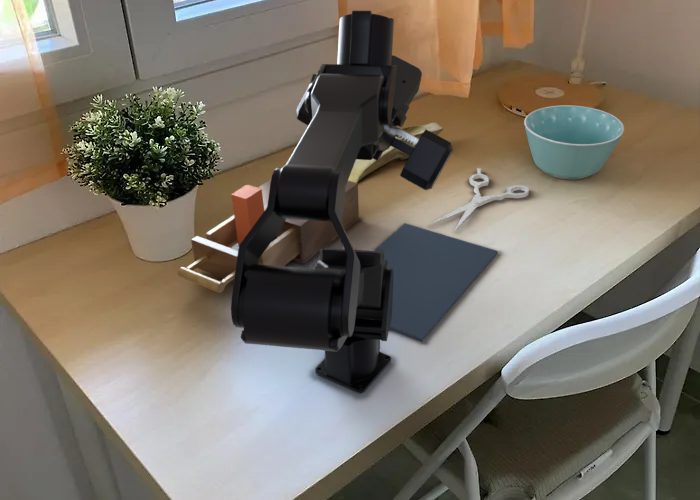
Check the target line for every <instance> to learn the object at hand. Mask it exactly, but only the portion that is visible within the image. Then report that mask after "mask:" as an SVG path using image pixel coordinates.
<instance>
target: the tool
mask: <svg viewBox="0 0 700 500" xmlns="http://www.w3.org/2000/svg"><path fill="white" fill-rule="evenodd" d="M400 129H401V130H403V131H405V132H407V133H409V134H411V135H413V136H414V137H416V138H418V139H420V137H421V135H422V134H423V132H424V131H425V130H428V131H430V132H432V133H434V134H436V135H438V136H439V134H440V133H442V132H443V131H444V127H443V126H441V125H440V124H439V123H438V122H436V121H435V122H430V123H427V124H422V125H413V126H407V127H402V128H400ZM395 138H397V139H398V140H400V141H402V142H404V143H406V144H408V145H409V146H411V147H413V148H415V146H416V144H415V145H414V146H413V143H412V144H410V141H409V142H408V143H407V140H406V141H404V138H403V139H402V140H401V137H400V138H398V136H396V137H395ZM408 158H409V155H407V154H405V153H403V152H401V151H399V150H397V149H396V148H394V147H392V146H390V147H389V148H388V149H387V150H386V151H384V152H383V153H382V155H381V157H380V159H379V161H377V160H375V159H373V158H372V160H357V159H356V161H355V163H354V166H353V168H352V171H351V174H350V176H349V179H348V181H351V182H355V183H358V182H359V181H361V180H362V179H363V178H364V177H366V176H367V175H369V174H370V173H373V172H374V171H376V170H377V169H379V168H380V167H382V166H384V165H386V164H388V163H389V162H391V161H393V160H395V159H396V160H399V161H400V160H401V161H404V160H408Z"/></svg>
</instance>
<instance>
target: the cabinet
mask: <svg viewBox="0 0 700 500" xmlns="http://www.w3.org/2000/svg"><path fill="white" fill-rule="evenodd" d="M270 183H271V179H269V180H267V181H266V182H264V183H263V184H261V185H260V186H258V187H257V188H260V189H262V195H263V204H264V211H265V210H266V208H267V206H268V198H269V191H270ZM359 205H360V204H359V183H358V182H357V183H355V182H351V181H347V184H346V186H345V201H344V211H343V221H342V225H343V227H344V229H345V231H347V230H348V229H349V228H350V227H351V226H353V225H354V224H355V223H356V222H358V221H359V220H360V211H359V209H360V208H359ZM232 211H233V212H234V210H233V209H232ZM284 224H285V225H288V226H291V227H294V228H297V229H298V239H299V250H300V254H299V255H297V256H296V257H295V258H294V259H292V260H291V261H295V262H297V263H300V264H302V265H305V264H306V263H308V261H310V260H311V259H312V258H313V257H314V256H316V255H317V254H318V253H320V250H321V249H325V248H326V247H327V246H328V245H329V244H330V243H332V242H333V241H335V239H337V238H339V236H338V234H337V232H336V230H335V228H334V226H333V223H332V221H316V220H299V219H286V220H285V223H284Z"/></svg>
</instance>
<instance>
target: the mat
mask: <svg viewBox="0 0 700 500" xmlns="http://www.w3.org/2000/svg"><path fill="white" fill-rule="evenodd" d="M373 251H384V252H385V253H384V258H385V259H386V260H387V262H388V265H387V268H390V269H393V301H392V317H391V322H390V328H389V330H392V331H394V332H396V333H399V334H401V335H405V336H407V337H410V338H413V339H415V340H417V341H421V342H423V341H424V340H425V339H426V338H427V337H428V335H429V334H430V333H431V332H432V331H433V329H434V328H435V327H436V326H437V325H438V324H439V322H440V321H441V320H442V319H443V318H444V317H445V316H446V314H447V313H448V312H449V311H450V310H451V309H452V307H453V306H454V305H455V304H456V302H458V301H459V299H460V298H461V297H462V296H463V294H465V292H466V291H467V290H468V289H469V288H470V286H471V285H472V284H473V283H474V282H475V281H476V279H477V278H478V277H479V276H480V274H482V272H483V271H485V269H486V268H487V267H488V265H489V264H490V263H491V262H492V260H494V258H495V257H496V256H497V255H498V252H499V251H498V250H496V249H493V248H489V247H486V246H482V245H479V244H476V243H472V242H469V241H465V240H461V239H458V238H457V237H456V238H455V237H453V236H449V235H445V234H442V233H439V232H435V231H431V230H429V229H426V228H421V227H419V226H415V225H413V224H412V225H411V224H409V223H405V222H404V223H403V224H401V226H399V228H397V230H395V231H394V232H393V233H392V234H390V236H388V238H386V239H385V240H384V241H383V242H382V243H381V244H380V245H378V246H377V247H376V248H375V249H374V250H373Z"/></svg>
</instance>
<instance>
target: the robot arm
mask: <svg viewBox="0 0 700 500" xmlns="http://www.w3.org/2000/svg"><path fill="white" fill-rule="evenodd" d="M394 27H395V20H394V18H392V17H388V16H385V15H381V14H376V13H373V12H372V10H352V11H351V13H349V14H344V16H341V17H339V25H338V42H337V57H336V58H337V59H336V63H321V65H320V66H319V69H318V71H317V73H313V74H312V76H311V79H310V82H309V85H308V86H307V88H306V90H305V92H304V94H303V96H302V97H301V99H300V100H299V101H300V102H299V103H298V105H297V107H296V110H295V116H296V119H297V121H299V122H300V123H302V124H304V125H306V126H307V127H306V129H305V131H304V133H303V134H302V136H301V138H300V139H299V141H298V143H297V145H296V146H295V148H294V150H293V152H292V153H291V155H290V157H289V159H287V161H286V164H285V165H283V166H282V167H276V168H275V169H273V172H272V175H271V178H270V180H271V183H270V191H269V198H268V206H267V208H266V210H265V211H264V212H263V214H262V215H261V216H260V218H259V219H258V221H257V222H256V223H255V225H254V226H253V227H252V229H251V230H250V231H249V233H248V234H247V235H246V237H245V238H244V240H243V241H242V242H241V244H240V246H239V249H238V256H237V264H236V271H235V278H234V282H233V286H232V294H231V302H230V316H231V321H232V324H233V326H234V327H235V328H240V329H242V330H241V332H240V339H241V340H242V343H244V344H249V345H259V346H269V347H272V346H273V347H281V348H291V349H303V350H313V351H314V350H315V351H324V358H323V360H322V361H321V362H320V363H319V364H318V365H317V366H316V367H315V369H314V373H315V374H316V375H317V376H320V377H322V378H324V379H326V380H328V381H331V382H333V383H335V384H337V385H340V386H342V387H344V388H346V389H349V390H351V391H353V392H355V393H357V394H364V393H366V391H367V390H368V389H369V388H370V387H371V385H372V384H373V383H374V382H375V381H376V380H377V378H378V377H379V376H380V375H381V374H382V373H383V372H384V370H385V369H386V368H387V367H388V366H389V365H390V364H391V362H392V356H390V355H389V354H386V353H385V352H381V351H380V350H381V341H382V342H388V337H389V333H390V329H389V328H390V322H391V317H392V301H393V269H390V268H387V265H388V262H387V260H386V259H385V258H384V253H385V252H384V251H374V250H366V249H355V248H354V247H353V244H352V242H351V240H350V237H349V235H348V233H347V230H345V229H344V227H343V225H342V221H343V211H344V201H345V186H346V184H347V181H348V179H349V176H350V174H351V171H352V168H353V166H354V163H355V161H356V159H357V160H372V158H373V159H375V160H377V161H379V159H380V157H381V155H382V153H383V152H384V151H386V150H387V149H388V148H389V147H390V146H392V147H394V148H396V149H397V150H399V151H401V152H403V153H405V154H407V155H409V158H407V159H406V162H405V164H404V165H403V168H402V169H401V172H400V174H399V176H400V177H401V178H402V179H403V180H406V181H408V182H409V183H412V184H413V185H415V186H417V187H419V188H420V189H422V190H424V191H428V190H431V189H433V187H434V186H435V184H436V182H437V181H438V179H439V177H440V175H441V173H442V171H443V170H444V168H445V166H446V165H447V163H448V161H449V159H450V157H451V156H452V154H453V152H454V149H453V145H452V142H451V141H449V140H448V139H445V138H443V137H441V136H440V135H439V134H438V135H436V134H434V133H432V132H430V131H428V130H425V131H424V132H423V134H422V135H421V137H420V139H418V138H416V137H414V136H413V135H411V134H409V133H407V132H405V131H403V130H401V129H402V128H403V125H404V124H405V122H406V120H407V119H408V117H407V113H408V111H409V109H410V104H411V102H412V101H414V100H413V99H414V98H415V97H416V95H417V94H418V93H419V90H420V85H421V82H422V76H423V73H422V70H421V69H420V68H419V67H418V66H415V65H413V64H412V63H409V62H408V61H406V60H404V59H402V58H400V57H398V56H396V55H393V46H394V45H393V44H394V43H393V42H394ZM396 136H398V138H400V137H401V140H402V139H403V138H404V141H406V140H407V143H408V142H409V141H410V144H412V143H413V146H414V145H415V144H416V146H415V148H413V147H411V146H409V145H408V144H406V143H404V142H402V141H400V140H398V139H397V138H395V137H396ZM286 219H299V220H316V221H332V223H333V226H334V228H335V230H336V232H337V234H338V238H339V241H340V242H341V245H342V247H343V248H339V247H337V248H335V247H324V248H323V249H321V250H320V251H319V258H318V260H317V261H316V264H315V265H314V268H313V267H299V266H298V267H297V266H286V265H285V266H272V265H258V261H259V258H260V257H261V255H262V254H263V252H264V251H265V250H266V248H267V247H268V246H269V244H270V243H271V241H272V240H273V239H274V237H275V236H276V235H277V233H278V232H279V230H280V229H281V228H282V226H283V225H284V223H285V220H286Z"/></svg>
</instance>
